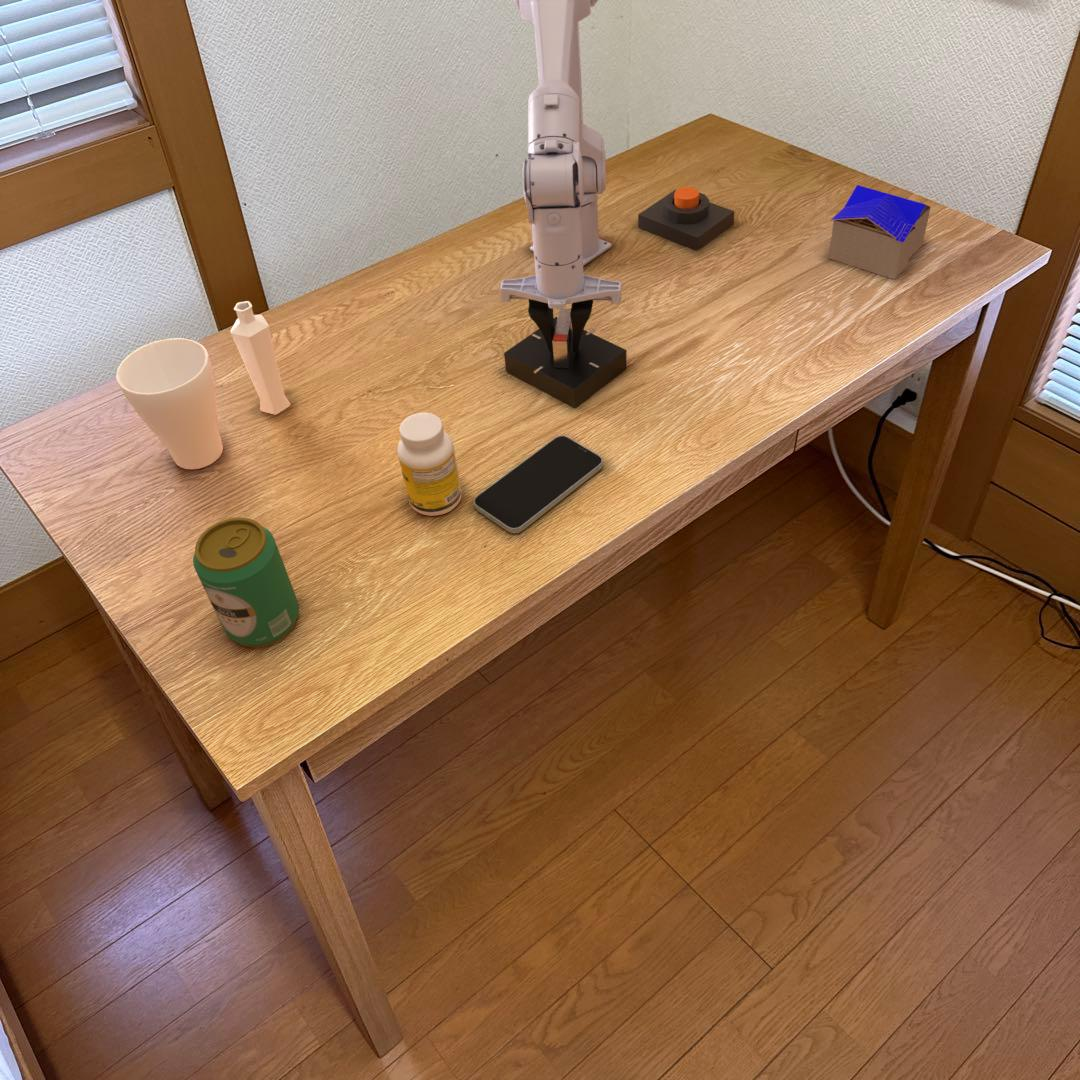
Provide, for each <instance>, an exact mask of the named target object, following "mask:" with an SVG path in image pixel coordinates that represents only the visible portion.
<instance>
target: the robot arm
mask: <svg viewBox="0 0 1080 1080" xmlns="http://www.w3.org/2000/svg"><path fill="white" fill-rule="evenodd" d="M598 1H599V0H513V4H514V6H516V8H517V9H518V10H519V12H520V16H521V17H520V18H521V19H522V20H523V21H525V22H528V23H529V24H532V25H533V29H534V40H535V41H534V42H535V53H536V65H537V78H538V85H537V87H536V88H534V90H532V92H530V94H529V95H528V99H527V158H524V159H523V163H522V191H523V198H524V202H525V206H526V210H527V216H528V223H529V224H530V225H531V235H532V245H530V246H529V250H530V251H532V252H533V260H534V271H535V275H530V276H525V277H519V278H513V279H502V280H501V283H500V288H499V293H500V301H501V303H510V302H511V300H528V309H527V313H528V317H529V318H530V319H531V320H532V321H533V322H534V324H535V325H536V326H537V328H538V329H540V331H541V333H542V335H543V337H544V339H545V341H546V344H547V347H548V350H549V352H553V343H552V341H553V337H554V332H555V325H554V318H555V316H554V310H555V309H556V310H559V309H566V308H567V305H569V304H571V307H570V309H571V312H570V317H571V323H572V331H573V345H572V348H573V352H575V353H578V352H579V348H580V338H581V334H582V332H583V330H585V326H586V324H587V323H588V321H589V320H590V317H591V314H592V312H593V303H594V301H597V302H599V301H603V302H604V301H605V302H611V303H610V304H612V305H620V304H621V301H622V281H617V280H609V279H603V278H599V277H595V276H591V275H586V274H585V273H584V266H585V265H587V264H589V263H590V262H591V261H593V260H595V259H596V258H597V257H599V256H601V255H602V254H603V253H605V252H606V251H608V250H610V249H611V248H612V243H611V242H608V241H606V240H604V239H601V238H600V237H599V215H598V214H599V211H598V209H599V208H598V195H603V193H604V192H605V191H606V189H607V188H606V187H607V165H606V164H607V162H606V161H607V160H606V150H605V139H604V138H603V134H602V133H601V132H599V131H597V130H595V129H594V128H592V127H590V126H588V125H586V124H585V123H584V115H583V114H584V112H583V91H582V89H583V88H582V72H581V71H582V70H581V67H582V66H581V48H580V47H581V46H580V45H581V44H580V27H579V26H580V25H579V22H581V21H582V20H585V19H586V18H588V17H589V16H590V15H591V12H592V10H591V8H593V7H595V6H596V4H597V3H598Z"/></svg>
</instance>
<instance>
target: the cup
mask: <svg viewBox="0 0 1080 1080" xmlns="http://www.w3.org/2000/svg"><path fill="white" fill-rule="evenodd" d="M115 378H116V383H117V385H118V386H119V388H120V390H121V392H122V394H123V395H124V397H125V399H126V400H127V401H128V403H129V404H130V406H131V407H132V408H133V410H134V411H135V413H136V414H137V415H138V416H139V418H140V419H141V421H143V423H144V424H145V425H146V426H147V427H148V428H149V429H150V430H151V431H152V433H153V434H154V435H155V436H156V437H157V438H158V440H159V441H160V442H161V443H162V445H163V446H164V447H165V448H166V449H167V451H168V454H169V455H170V456H171V458H172V460H173V461H174V463H175V465H177V466H178V467H179V468H182V469H185V470H199V469H202V468H206V467H208V466H210V465H212V464H214V463H215V462H216V461H217V460H218V459H219V458H220V457H221V456H222V454H223V450H224V446H223V441H222V438H221V434H220V427H219V419H218V418H219V417H218V403H217V402H218V401H217V399H218V398H217V390H216V382H215V375H214V370H213V366H212V363H211V360H210V356H209V352H208V350H207V348H206V347H205V346H204V345H203V344H201V343H199V342H198V341H196V340H194V339H193V340H192V339H189V338H183V337H182V338H181V337H173V338H163V339H160V340H155V341H152V342H149V343H147V344H145V345H142V346H140V347H138V348H137V349H135V350H133V351H132V352H131V353H129V354H128V355H127V356H126V357H124V359H123V360H122V361H121V362H120V364H119V365H118V367H117V369H116V373H115Z"/></svg>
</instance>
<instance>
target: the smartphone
mask: <svg viewBox="0 0 1080 1080" xmlns="http://www.w3.org/2000/svg"><path fill="white" fill-rule="evenodd" d="M603 467H604V461H603V457H602V456H601V455H599V454H598V453H596V452H594V451H593V450H591V449H589V448H588V447H586V446H584V445H583V444H582V443H579V442H577V441H576V440H574V439H573V438H571V437H569V436H567V435H558V436H556V437H553V439H551V440H549V441H548V442H547V443H545V445H543V446H542V447H540V448H539V449H538V450H536V451H535V452H534V453H532V454H531V455H530V456H528V457H527V458H525V459H524V460H523V461H521V462H520V463H519V464H517V465H516V466H515V467H514V468H512V469H511V470H509V471H508V472H507V473H506V474H504V475H503V476H502V477H500V478H499V479H497V480H496V481H495V482H494V483H492V484H491V485H489V486H488V487H486V488H485V489H483V491H482V492H479V494H478V495H476V496H475V497H474V499H473V505H474V509H475V510H476V511H477V512H478V513H480V514H481V515H483V516H484V517H485V518H487V519H489V520H491V521H492V522H493V523H494V524H496V525H498V526H499V527H500V528H502V529H504V530H505V531H506V532H508V533H510V534H519V533H522V532H524V530H525V529H527V528H528V527H530V526H531V525H532V524H533V523H534V522H536V521H537V520H538V519H539V518H542V516H543V515H544V514H546V513H547V512H548V511H550V510H551V509H553V508H554V507H555V506H556V505H557V504H559V503H560V502H562V500H564V499H565V498H566V497H568V496H570V494H571V493H573V492H574V491H575V490H577V488H579V487H580V486H582V484H584V483H586V482H587V481H588V480H589V479H590V478H591V477H593V476H594V475H596V473H598V472H599V471H600V470H602V468H603Z"/></svg>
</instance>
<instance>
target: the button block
mask: <svg viewBox="0 0 1080 1080" xmlns="http://www.w3.org/2000/svg"><path fill="white" fill-rule="evenodd" d="M676 190H677V189H674V190H673V191H671V192H669V193H668V194H666V195H665V196H663V197H662V198H661V199H659V200H658V201H656V202H655V203H653V204H652V205H650V206H648V207H647V208H646V209H644V210H642V211H641V212H640V213H638V214H637V218H638V219H637V228H638V229H641V230H644V231H646V232H649V233H651V234H653V235H656V236H660V238H664V239H666V240H669V241H671V242H674V243H676V244H678V245H681V246H683V247H686V248H689V249H690V250H694V251H699V250H700V249H702V248H703V247H705V246H706V245H707V244H709V243H710V242H711V241H714V239H716V238H717V237H718V236H720V235H721V234H723V233H724V232H725V231H727V230H728V229H729V228H731V227H732V226H733V225H734V223H735V210H732V209H730V208H727V207H724V206H722V205H719V204H717V203H713V202H711V201H710V199H709V197H707V195H706V194H705V193H702V192H699V205H698V206H697V207H696V208H692V209H680V208H678V207H675V205H674V193H675V191H676Z"/></svg>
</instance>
